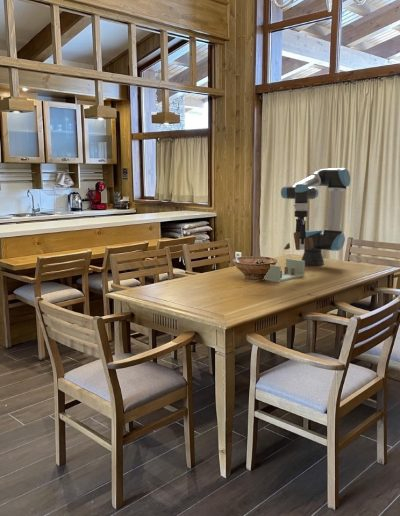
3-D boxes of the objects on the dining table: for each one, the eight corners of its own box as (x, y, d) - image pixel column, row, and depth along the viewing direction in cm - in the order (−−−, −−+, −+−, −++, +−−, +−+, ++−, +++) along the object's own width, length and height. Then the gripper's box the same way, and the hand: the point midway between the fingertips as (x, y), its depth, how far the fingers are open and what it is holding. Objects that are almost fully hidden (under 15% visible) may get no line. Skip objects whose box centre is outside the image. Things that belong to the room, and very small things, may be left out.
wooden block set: (310, 252, 300) (307, 235, 303) (317, 248, 292) (314, 231, 295) (283, 252, 295) (281, 235, 297) (290, 248, 287) (288, 231, 289)
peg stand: (287, 272, 308) (287, 258, 306) (304, 275, 298) (304, 260, 297) (261, 278, 291) (261, 263, 290) (278, 282, 282) (278, 266, 280)
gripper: (290, 209, 299) (290, 245, 303) (299, 211, 279) (298, 251, 283) (302, 208, 300) (302, 245, 303) (312, 211, 279) (311, 250, 283)
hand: (300, 248), depth 293 cm, fingers closed on wooden block set, 8 cm apart
